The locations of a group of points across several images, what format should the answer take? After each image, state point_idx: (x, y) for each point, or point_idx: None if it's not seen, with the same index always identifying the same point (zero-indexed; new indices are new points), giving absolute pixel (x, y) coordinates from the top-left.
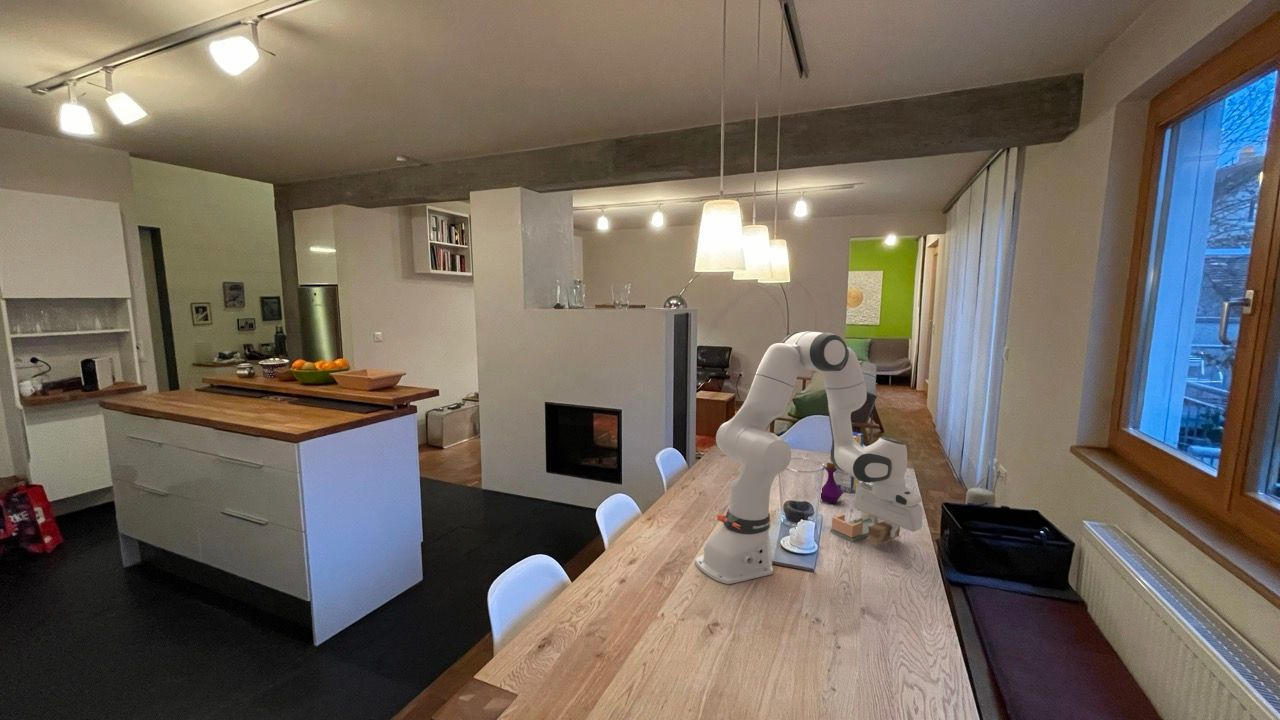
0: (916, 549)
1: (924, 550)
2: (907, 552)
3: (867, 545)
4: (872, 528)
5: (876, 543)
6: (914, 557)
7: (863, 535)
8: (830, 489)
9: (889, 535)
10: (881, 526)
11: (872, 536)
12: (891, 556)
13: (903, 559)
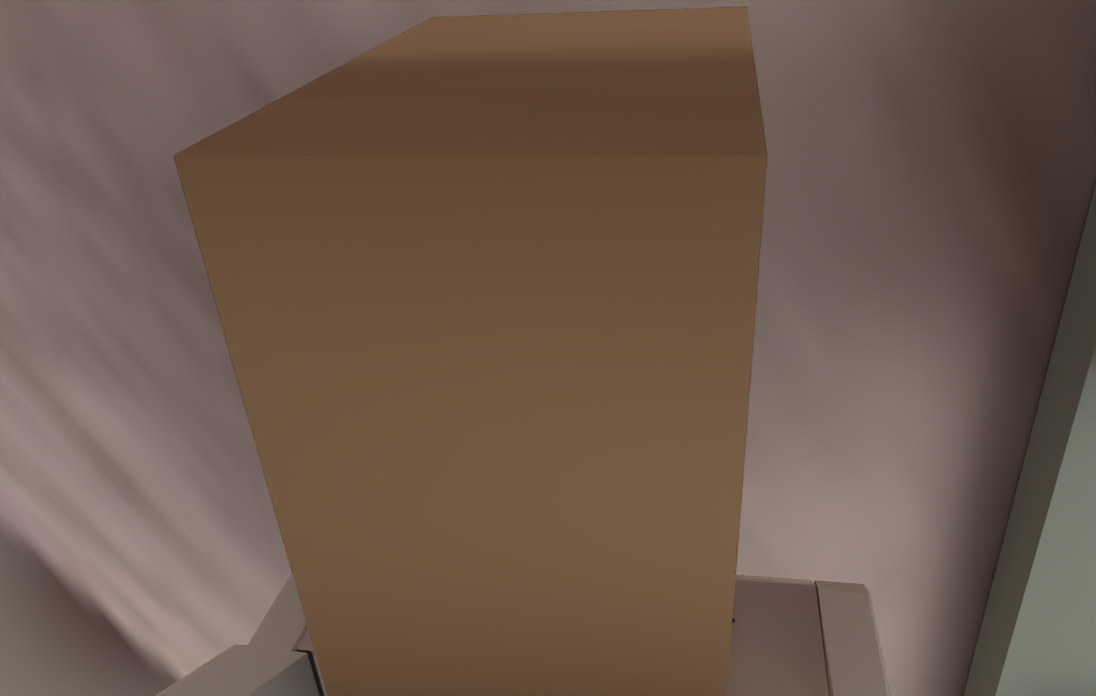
0: (237, 632)
1: (182, 675)
2: (203, 456)
3: (770, 44)
4: (516, 142)
5: (440, 23)
6: (40, 390)
7: (1075, 365)
8: None
9: None
10: (471, 662)
11: (560, 50)
12: (160, 54)
13: (10, 158)
